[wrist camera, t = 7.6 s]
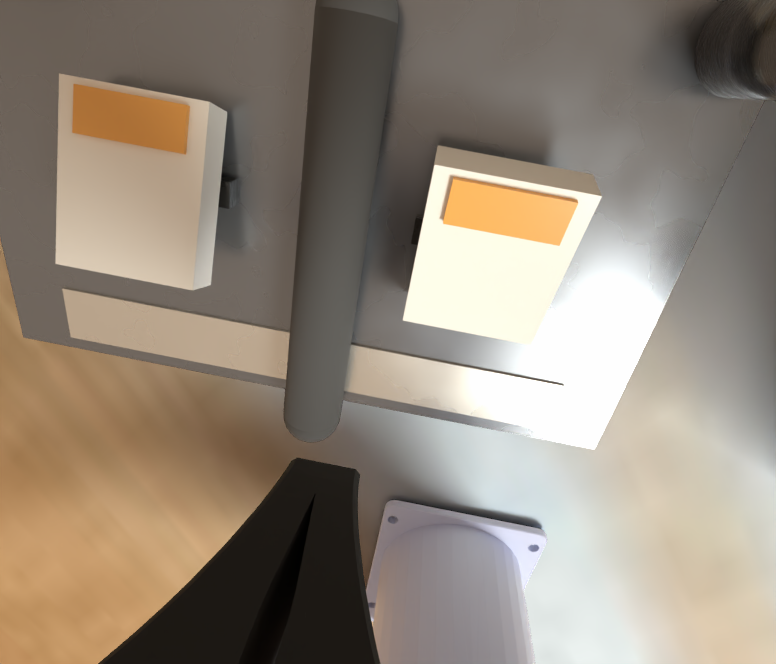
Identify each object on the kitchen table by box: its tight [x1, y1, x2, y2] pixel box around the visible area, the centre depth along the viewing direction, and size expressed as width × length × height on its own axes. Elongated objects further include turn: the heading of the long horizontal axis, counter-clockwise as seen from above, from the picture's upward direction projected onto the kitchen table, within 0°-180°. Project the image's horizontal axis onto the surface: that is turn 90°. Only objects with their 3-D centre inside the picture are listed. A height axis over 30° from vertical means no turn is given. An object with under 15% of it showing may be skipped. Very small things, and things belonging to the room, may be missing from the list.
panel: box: [0, 0, 776, 449], centre depth 14 cm, size 14×22×6 cm, turn 81°
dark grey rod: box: [284, 0, 398, 442], centre depth 14 cm, size 14×2×2 cm, turn 171°
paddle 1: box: [55, 73, 227, 290], centre depth 13 cm, size 5×4×1 cm
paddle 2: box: [403, 145, 602, 345], centre depth 13 cm, size 5×4×1 cm
